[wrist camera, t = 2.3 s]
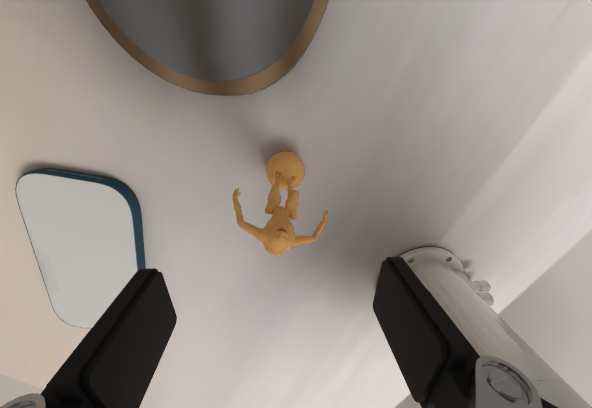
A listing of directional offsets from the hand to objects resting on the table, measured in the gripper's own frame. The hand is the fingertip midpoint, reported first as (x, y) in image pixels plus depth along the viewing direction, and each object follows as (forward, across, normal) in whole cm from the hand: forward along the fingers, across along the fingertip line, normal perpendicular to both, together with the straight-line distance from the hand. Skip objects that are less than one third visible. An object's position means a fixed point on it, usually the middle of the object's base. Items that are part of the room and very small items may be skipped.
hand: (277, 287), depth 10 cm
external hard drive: (+18, +23, +12) cm, 32 cm away
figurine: (+17, -1, +1) cm, 17 cm away
